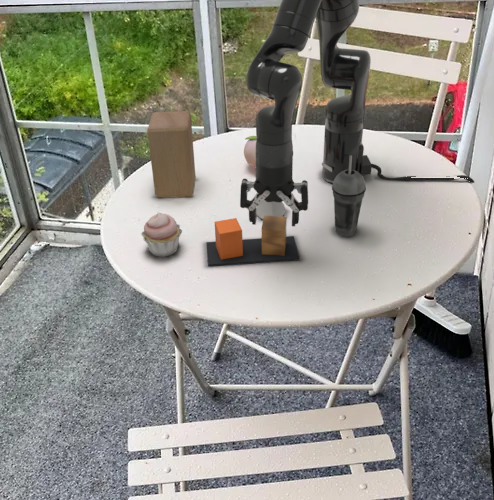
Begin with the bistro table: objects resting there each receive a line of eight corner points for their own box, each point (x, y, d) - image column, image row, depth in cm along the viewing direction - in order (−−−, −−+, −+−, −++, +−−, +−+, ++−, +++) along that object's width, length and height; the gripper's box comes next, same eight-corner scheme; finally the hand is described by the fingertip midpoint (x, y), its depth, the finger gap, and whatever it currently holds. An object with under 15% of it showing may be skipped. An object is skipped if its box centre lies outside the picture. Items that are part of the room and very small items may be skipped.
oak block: (286, 242, 148) (286, 216, 144) (284, 255, 144) (285, 229, 140) (263, 241, 149) (263, 215, 145) (261, 254, 145) (261, 228, 141)
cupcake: (156, 234, 156) (152, 198, 150) (190, 242, 152) (187, 206, 146) (135, 255, 150) (129, 218, 144) (170, 265, 146) (166, 228, 140)
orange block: (237, 243, 149) (236, 217, 145) (242, 256, 145) (242, 229, 141) (215, 247, 149) (214, 221, 145) (221, 259, 145) (219, 233, 140)
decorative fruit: (239, 174, 176) (238, 140, 170) (248, 160, 182) (247, 127, 176) (273, 178, 172) (273, 144, 167) (281, 163, 178) (281, 130, 173)
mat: (293, 238, 150) (293, 235, 150) (299, 260, 143) (299, 257, 143) (206, 244, 151) (206, 242, 151) (208, 266, 144) (207, 264, 144)
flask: (249, 214, 159) (248, 179, 154) (267, 201, 163) (266, 166, 158) (273, 224, 155) (273, 187, 149) (291, 210, 159) (292, 174, 153)
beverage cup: (363, 224, 152) (370, 146, 140) (360, 242, 146) (367, 162, 135) (331, 220, 154) (336, 144, 143) (327, 238, 149) (331, 160, 137)
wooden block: (196, 178, 176) (190, 109, 164) (193, 198, 168) (187, 126, 156) (159, 179, 177) (151, 110, 166) (154, 199, 169) (146, 128, 158)
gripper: (236, 165, 132) (239, 231, 141) (308, 167, 129) (306, 235, 138) (241, 148, 138) (243, 212, 147) (310, 149, 135) (308, 215, 144)
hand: (274, 223), depth 143 cm, fingers open, 8 cm apart
